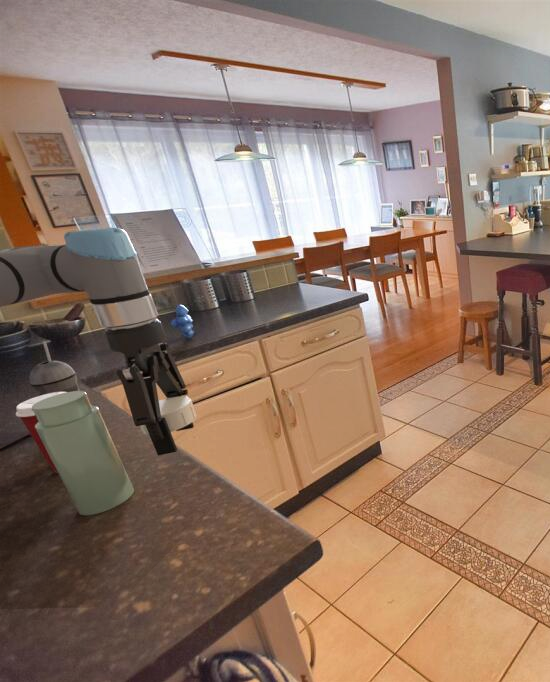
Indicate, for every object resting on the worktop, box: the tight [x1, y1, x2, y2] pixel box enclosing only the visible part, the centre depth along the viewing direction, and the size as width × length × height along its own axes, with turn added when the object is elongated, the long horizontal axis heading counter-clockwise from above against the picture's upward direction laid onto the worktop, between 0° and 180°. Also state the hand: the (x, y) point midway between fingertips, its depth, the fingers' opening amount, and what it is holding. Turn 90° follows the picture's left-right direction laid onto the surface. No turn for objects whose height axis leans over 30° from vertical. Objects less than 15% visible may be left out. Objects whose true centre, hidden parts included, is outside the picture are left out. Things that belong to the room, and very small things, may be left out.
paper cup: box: [15, 392, 66, 474], centre depth 82 cm, size 8×8×14 cm
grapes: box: [169, 304, 195, 340], centre depth 157 cm, size 12×7×12 cm, turn 32°
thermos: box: [31, 390, 135, 516], centre depth 70 cm, size 7×7×19 cm
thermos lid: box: [139, 395, 198, 436], centre depth 79 cm, size 8×8×4 cm
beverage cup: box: [29, 340, 80, 396], centre depth 96 cm, size 7×7×20 cm
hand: (176, 439), depth 80 cm, fingers closed on thermos lid, 8 cm apart
